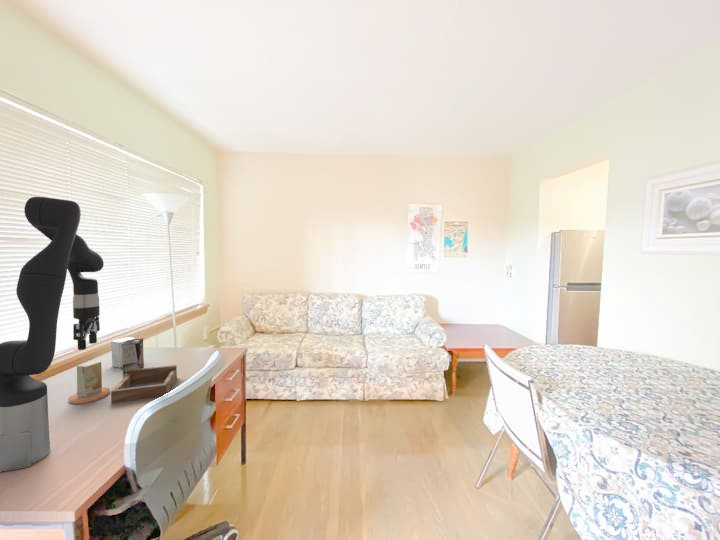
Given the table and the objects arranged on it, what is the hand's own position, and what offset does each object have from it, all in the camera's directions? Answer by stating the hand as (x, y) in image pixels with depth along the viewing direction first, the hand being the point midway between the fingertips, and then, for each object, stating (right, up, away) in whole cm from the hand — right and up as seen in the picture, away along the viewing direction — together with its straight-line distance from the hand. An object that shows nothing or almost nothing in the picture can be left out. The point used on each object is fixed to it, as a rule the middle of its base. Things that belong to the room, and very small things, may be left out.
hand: (87, 346), depth 116 cm
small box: (-13, -18, +34) cm, 41 cm away
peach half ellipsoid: (0, -20, +1) cm, 20 cm away
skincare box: (0, -19, +1) cm, 19 cm away
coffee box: (+2, -19, +21) cm, 29 cm away
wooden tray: (+18, -20, +8) cm, 28 cm away
